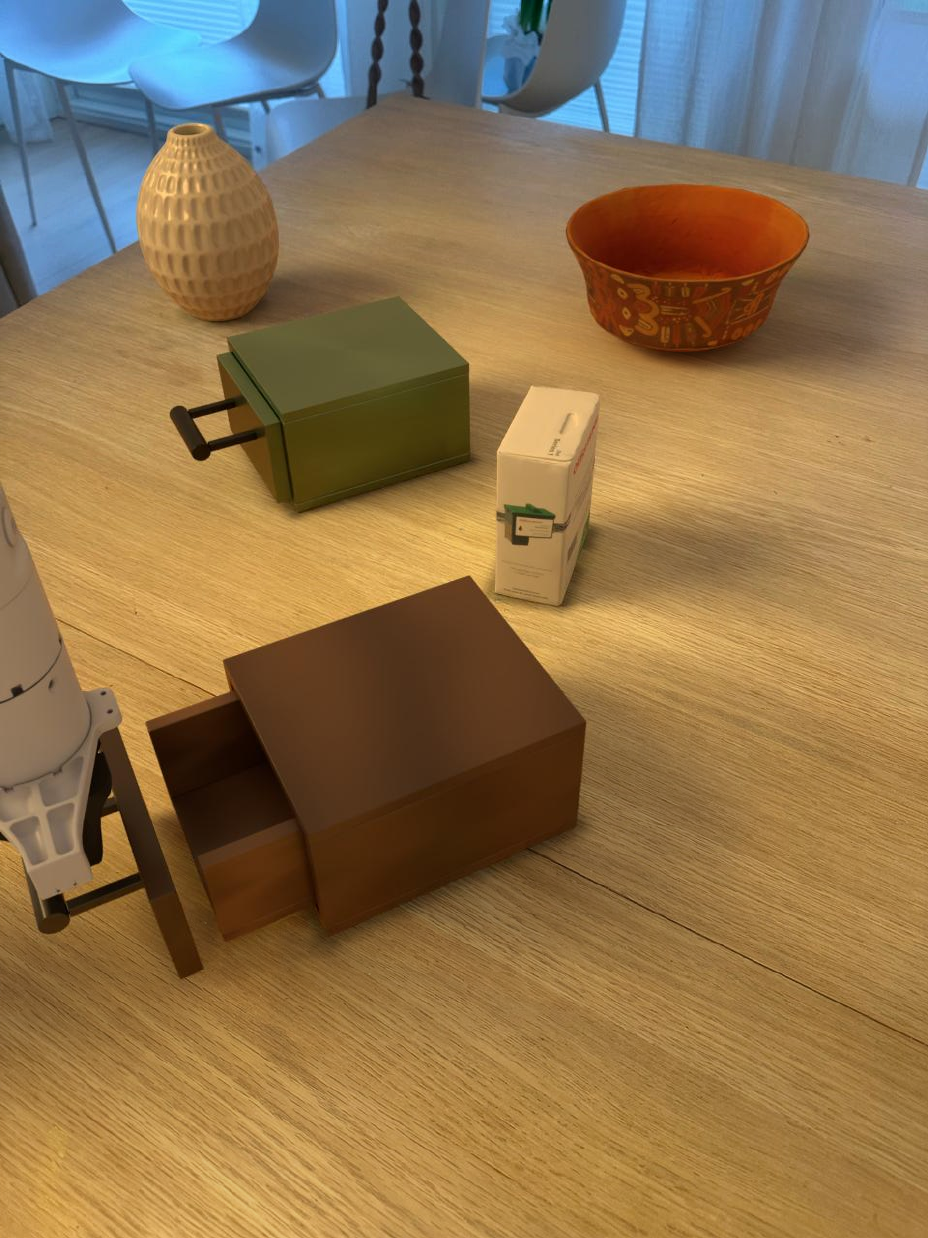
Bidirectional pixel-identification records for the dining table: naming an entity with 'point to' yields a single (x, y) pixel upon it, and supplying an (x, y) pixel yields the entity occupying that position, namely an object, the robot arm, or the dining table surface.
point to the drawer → (241, 427)
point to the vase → (207, 225)
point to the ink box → (544, 493)
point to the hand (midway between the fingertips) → (78, 859)
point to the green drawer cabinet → (360, 398)
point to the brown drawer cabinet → (412, 746)
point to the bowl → (684, 262)
